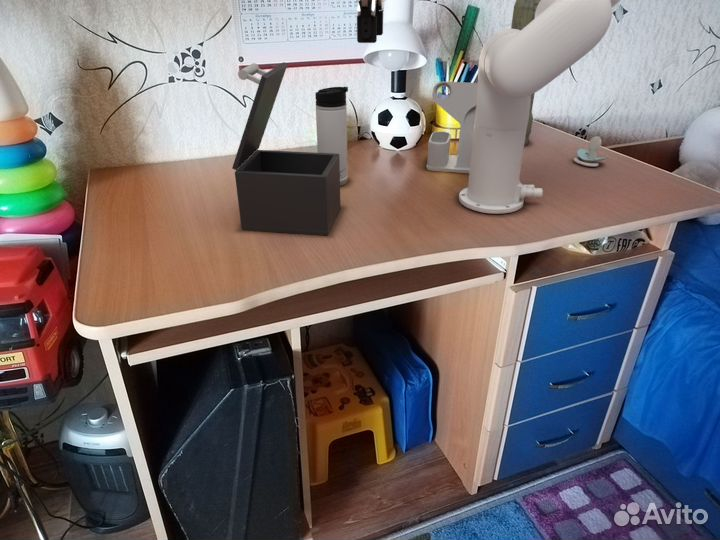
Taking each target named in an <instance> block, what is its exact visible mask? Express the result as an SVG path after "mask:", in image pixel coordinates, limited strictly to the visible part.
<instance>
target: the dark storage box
mask: <svg viewBox="0 0 720 540" xmlns="http://www.w3.org/2000/svg"><path fill="white" fill-rule="evenodd" d="M234 177H235V186H236V187H235V188H236V195H237V203H238V211H239V219H240V226H241V231H252V232H267V233H281V234H295V235H296V234H299V235H311V236H312V235H313V236H325V237H328V236H329V234H330V232H331V229H332V227H333V226H334V223H335V221H336V218H337V216H338V214H339V212H340V210H341V186H340V160H339V154H334V153H318V152H311V151H289V150H271V149H269V150H268V149H258V150H257V151H255V152H254V153H253V154H252V155H251V156H250V157H249V158H248V159H247V160H246V161H245V162H244V163H243V164H242V165H241V166H240V167H239V168H238V169H237V170H234Z"/></svg>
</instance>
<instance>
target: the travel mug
mask: <svg viewBox="0 0 720 540" xmlns="http://www.w3.org/2000/svg"><path fill="white" fill-rule="evenodd" d="M348 92H349V87H348V86H331V87H330V86H329V87H325V88H321V89H319V90H317V91H316V92H315V121H316V123H315V124H316V144H317V145H316V146H317V147H316V149H317V153H334V154H339V160H340V187H342V186H345V185H346V184H347V183H348V181H349V176H348V174H349V173H348V168H349V167H348V112H347V109H348V108H347V107H348V106H347V93H348Z"/></svg>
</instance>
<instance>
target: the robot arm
mask: <svg viewBox="0 0 720 540" xmlns="http://www.w3.org/2000/svg"><path fill="white" fill-rule="evenodd" d="M385 1H386V0H356V2H357V12H356V13H357V15H356V41H357V43H359V44H375V43H377V41H378V36H382V35H383V34H384V10H383V3H384V2H385ZM620 2H621V0H541V1H540V2H539V4H538V6H537V8H536V11H535V19H534V20H533V21H531V22H530V23H529V24H528V25H527V26H526V27H524V28H523V29H522V30H518V29H511V28H504V29H502V30H499V31H496V32H495V33H493V34H492V35H491V36H490V37H489V38H488V39H487V40H486V42H485V43H484V45H483V47H482V49H481V52H480V55H479V58H478V59H479V60H478V68H477V83H478V93H477V106H476V116H475V124H474V134H473V143H472V153H471V162H470V172H469V173H468V181H467V182H468V183H467V187H465V188H463V189H461V190H460V192H459V194H458V201H459V203H460V204H461V205H462V206H463V207H465V208H467V209H468V210H472V211H473V212H474V211H475V212H478V213H482V214H490V215H500V214H504V215H505V214H510V213H515V212H517V211H519V210H521V209H522V208H523V206H524V202H525V198H532V199H542V197H543V192H544V190H543V188H541V187H535V184H523V183H522V182H521V180H520V174H521V168H522V162H523V155H524V149H525V148H524V147H525V145H524V143H525V136H526V130H527V125H528V119H529V111H530V102H531V95H532V94H534V93H535V94H536V93H537V92H539V91H540V90H542V89H543V88H545V87H546V86H547V85H549V84H550V83H551V82H552V81H554V80H555V79H557V78H558V77H559V76H560V75H562V74H563V73H564V72H565V71H567V70H568V69H569V68H571V67H573V65H574V64H576V63H577V62H578V61H580V60H581V59H582V58H583V57H585V56H586V55H587V54H588V53H590V52H591V51H592V50H593V49H594V48H596V46H597V45H598V44H599V43H600V42H601V41H602V39H603V38H604V37H605V35H606V34H607V32H608V30H609V28H610V25H611V22H612V17H613V8H614V7H615V6H616V5H617V4H618V3H620ZM535 94H534V95H535Z"/></svg>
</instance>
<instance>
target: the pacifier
mask: <svg viewBox="0 0 720 540" xmlns="http://www.w3.org/2000/svg"><path fill="white" fill-rule="evenodd" d="M602 143H603V142H602V139H601V137H600V136H597V135H596V136H593V137H592V138H591V139H590V140H589V142H588V149H589V150H587V149H585V148H579V149H578V150H577V152H576V154H577V156H576V157H574V158H573V162H574V163H576V164H578V165H582V166H586V167H591V168H594V167H598V166H599V165H600V164H599V162H601V161H605V160H607V159H608V158H609V156H606V157H605V156H604V157H603V156H602V157H597V156H598V152H599V149H600V148H601V147H602Z"/></svg>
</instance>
